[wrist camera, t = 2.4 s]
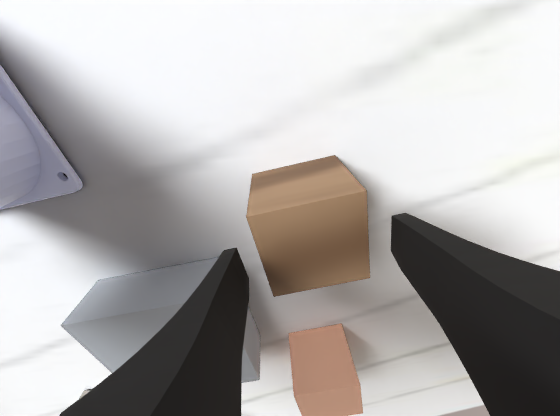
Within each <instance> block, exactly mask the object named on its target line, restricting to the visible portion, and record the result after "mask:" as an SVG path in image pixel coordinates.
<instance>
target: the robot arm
mask: <svg viewBox="0 0 560 416" xmlns="http://www.w3.org/2000/svg"><path fill="white" fill-rule="evenodd" d="M63 173H65V174H66V175H67V177H68V178H66V177H65V176H64V175H63ZM82 187H83V183H82V181H81V180H80V178H79V177H78V175H77V174H76V172H75V171H74V170H73V168H72V167H71V165H70V164H69V162H68V161H67V159H66V158H65V157H64V155H63V154H62V152H61V151H60V149H59V148H58V147H57V145H56V144H55V142H54V141H53V139H52V138H51V137H50V135H49V134H48V132H47V131H46V129H45V128H44V126H43V125H42V124H41V122H40V121H39V119H38V118H37V116H36V115H35V114H34V112H33V111H32V109H31V108H30V106H29V105H28V104H27V102H26V101H25V99H24V98H23V96H22V95H21V94H20V92H19V91H18V89H17V88H16V86H15V85H14V83H13V82H12V81H11V79H10V78H9V76H8V75H7V73H6V72H5V71H4V69H3V68H2V66H1V65H0V210H2V209H6V208H10V207H15V206H19V205H23V204H27V203H32V202H36V201H40V200H44V199H49V198H53V197H57V196H62V195H66V194H70V193H74V192H77V191H79V190H80V189H81V188H82ZM391 252H392V254H393V256H394V258H395V259H396V261H397V263H398V265H399V267H400V269H401V270H402V272H403V273H404V275H405V276H406V277H407V279H408V280H409V282H410V283H411V284H412V286H413V287H414V289H415V290H416V291H417V293H418V294H419V296H420V297H421V298H422V300H423V301H424V302H425V304H426V305H427V307H428V308H429V309H430V311H431V312H432V313H433V315H434V316H435V318H436V319H437V321H438V322H439V324H440V326H441V327H442V329H443V331H444V332H445V334H446V336H447V337H448V339H449V341H450V343H451V344H452V346H453V348H454V349H455V351H456V353H457V355H458V356H459V358H460V360H461V362H462V364H463V365H464V367H465V369H466V371H467V373H468V374H469V376H470V378H471V380H472V382H473V384H474V386H475V387H476V389H477V391H478V393H479V395H480V397H481V399H482V401H483V403H484V404H485V406H486V408H487V410H488V412H489V414H490V416H560V271H557V270H553V269H549V268H546V267H542V266H539V265H535V264H532V263H529V262H526V261H522V260H519V259H516V258H513V257H510V256H507V255H504V254H501V253H498V252H496V251H493V250H490V249H488V248H485V247H482V246H480V245H477V244H475V243H472V242H470V241H467V240H465V239H463V238H460V237H458V236H456V235H453V234H451V233H449V232H447V231H444V230H442V229H440V228H438V227H436V226H433V225H431V224H429V223H427V222H425V221H423V220H421V219H418V218H416V217H414V216H412V215H409V214H407V213H403V214H398V215H393V216H392V226H391ZM248 303H249V278H248V275H247V273H246V270H245V268H244V265H243V263H242V260H241V258H240V255H239V253H238V250H237V248H233V249H228V250H224V251H223V252H222V254H221V255H220V256H219V258H218V259H217V261H216V262H215V264H214V265H213V267H212V268H211V269H210V271H209V272H208V274H207V275H206V276H205V278H204V279H203V280H202V282H201V283H200V285H199V286H198V287H197V288H196V290H195V291H194V292H193V293H192V295H191V296H190V297H189V298H188V300H187V301H186V302H185V303H184V305H183V306H182V307H181V308H180V309H179V310H178V311H177V313H176V314H175V315H174V316H173V317H172V318H171V319H170V320H169V321H168V322H167V323H166V324H165V326H164V327H163V328H162V329H161V330H160V331H159V332H157V333H156V334H155V335H154V336H153V337H152V338H151V339H150V340H149V341H148V342H147V343H146V344H145V345H144V346H143V347H142V348H141V349H140V350H139V351H138V352H136V353H135V354H134V355H133V356H132V357H131V358H130V359H129V360H127V361H126V362H125V363H124V364H123V365H122V366H120V367H119V368H118V369H117V370H116V371H114V372H113V373H112V374H111V375H110V376H108V377H107V378H106V379H105V380H103V381H102V382H101V383H100V384H98V385H97V386H96V387H95V388H93V389H92V390H91V391H89V392H88V393H87V394H85V395H84V396H83V397H82V398H80V399H79V400H78V401H76V402H75V403H74V404H72V405H71V406H70V407H68V408H67V409H66V410H64V411H63V412H62V413H61V414H60V416H241V379H242V354H243V344H244V336H245V328H246V320H247V311H248Z"/></svg>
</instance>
